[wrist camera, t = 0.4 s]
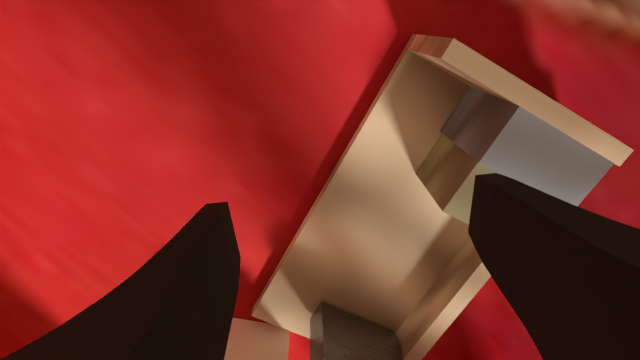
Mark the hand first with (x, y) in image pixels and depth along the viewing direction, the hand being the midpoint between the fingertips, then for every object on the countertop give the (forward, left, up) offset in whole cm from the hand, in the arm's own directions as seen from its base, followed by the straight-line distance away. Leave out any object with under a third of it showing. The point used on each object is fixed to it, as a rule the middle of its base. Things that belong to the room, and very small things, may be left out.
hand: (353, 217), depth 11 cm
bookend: (-10, -7, -9) cm, 16 cm away
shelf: (-3, -6, -10) cm, 13 cm away
